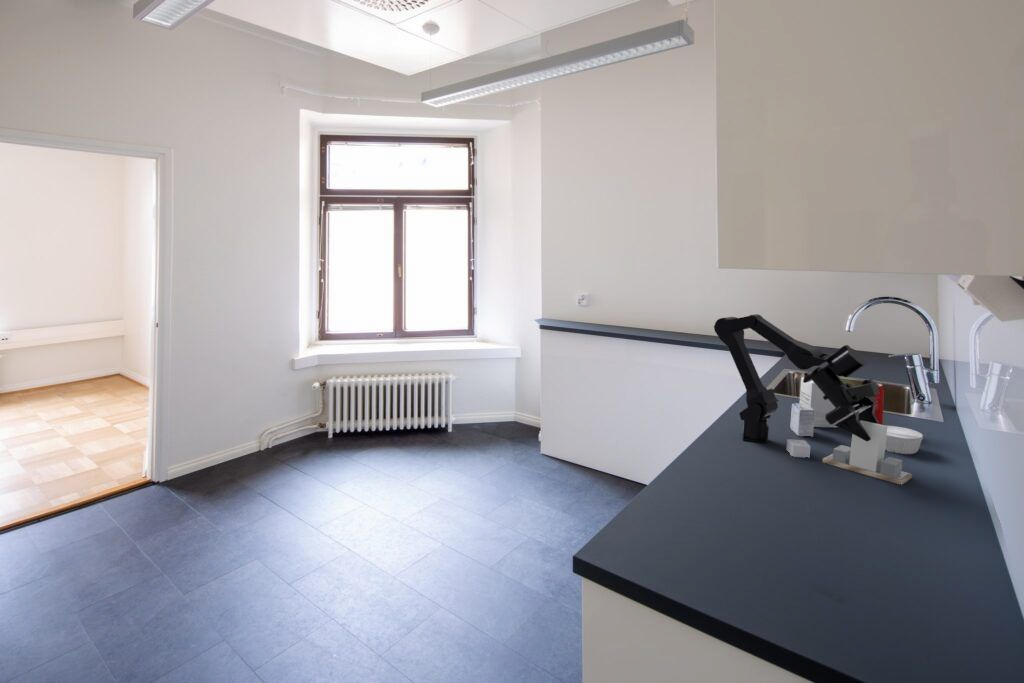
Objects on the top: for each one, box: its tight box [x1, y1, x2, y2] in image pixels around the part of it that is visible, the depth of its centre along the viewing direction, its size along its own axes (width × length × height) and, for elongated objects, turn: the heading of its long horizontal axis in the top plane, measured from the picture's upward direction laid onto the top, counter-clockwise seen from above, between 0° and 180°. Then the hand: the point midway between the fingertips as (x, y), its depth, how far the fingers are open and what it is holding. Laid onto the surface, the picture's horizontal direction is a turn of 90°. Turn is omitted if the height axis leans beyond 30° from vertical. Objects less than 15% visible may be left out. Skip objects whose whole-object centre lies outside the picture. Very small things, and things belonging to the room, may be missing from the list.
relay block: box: [786, 438, 812, 459], centre depth 146 cm, size 4×5×4 cm
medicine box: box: [789, 402, 815, 438], centre depth 164 cm, size 8×4×9 cm, turn 168°
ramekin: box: [885, 425, 924, 455], centre depth 150 cm, size 11×11×5 cm
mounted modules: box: [832, 444, 904, 477], centre depth 135 cm, size 14×5×3 cm, turn 37°
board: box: [822, 453, 913, 486], centre depth 135 cm, size 18×7×1 cm, turn 37°
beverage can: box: [871, 382, 885, 425], centre depth 167 cm, size 6×6×15 cm
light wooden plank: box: [826, 454, 909, 480], centre depth 135 cm, size 17×6×1 cm, turn 37°
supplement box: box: [799, 376, 839, 429], centre depth 173 cm, size 9×9×15 cm
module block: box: [849, 420, 889, 472], centre depth 134 cm, size 6×5×11 cm
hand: (875, 437), depth 133 cm, fingers open, 8 cm apart
